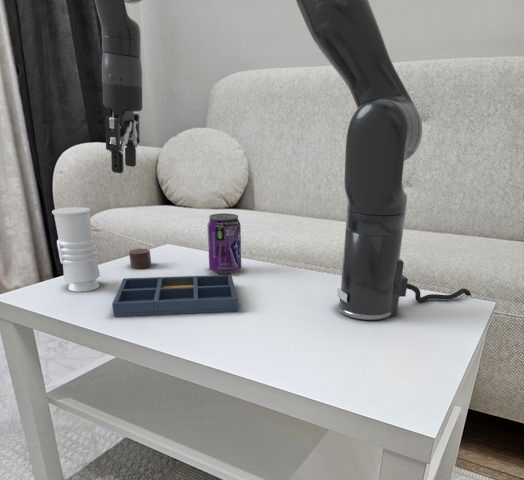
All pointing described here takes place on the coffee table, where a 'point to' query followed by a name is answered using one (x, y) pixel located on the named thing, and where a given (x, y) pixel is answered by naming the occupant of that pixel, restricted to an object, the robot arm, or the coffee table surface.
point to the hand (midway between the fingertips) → (124, 169)
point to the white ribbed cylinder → (77, 248)
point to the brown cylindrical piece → (140, 258)
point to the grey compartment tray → (175, 295)
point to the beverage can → (224, 243)
